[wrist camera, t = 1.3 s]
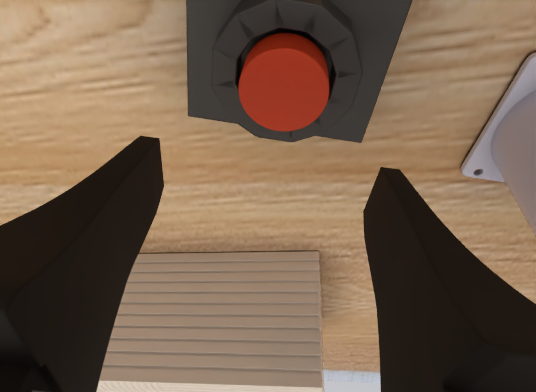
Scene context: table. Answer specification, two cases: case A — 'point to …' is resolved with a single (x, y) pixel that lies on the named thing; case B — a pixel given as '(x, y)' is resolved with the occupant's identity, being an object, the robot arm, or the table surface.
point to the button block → (304, 24)
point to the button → (284, 82)
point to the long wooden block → (218, 324)
